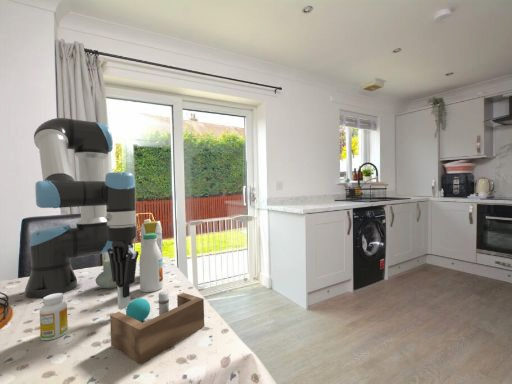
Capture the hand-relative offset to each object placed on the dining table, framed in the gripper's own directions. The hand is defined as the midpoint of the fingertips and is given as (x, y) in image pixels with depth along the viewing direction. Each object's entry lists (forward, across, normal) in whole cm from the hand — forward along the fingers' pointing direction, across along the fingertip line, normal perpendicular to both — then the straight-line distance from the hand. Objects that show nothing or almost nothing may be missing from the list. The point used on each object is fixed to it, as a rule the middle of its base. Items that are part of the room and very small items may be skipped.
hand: (124, 307), depth 74 cm
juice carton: (+2, -24, +25) cm, 35 cm away
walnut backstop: (+2, +19, -1) cm, 19 cm away
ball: (-1, +8, 0) cm, 8 cm away
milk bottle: (+2, -11, +16) cm, 20 cm away
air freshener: (+2, -27, +10) cm, 29 cm away
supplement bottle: (+2, -4, -15) cm, 16 cm away
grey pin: (+2, +16, +2) cm, 16 cm away
